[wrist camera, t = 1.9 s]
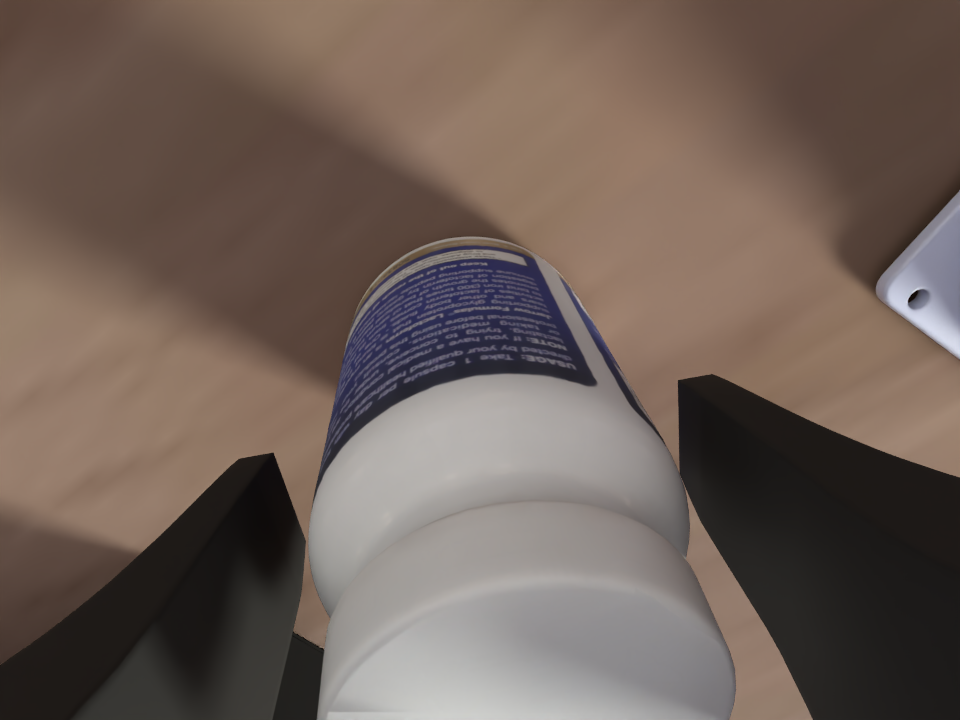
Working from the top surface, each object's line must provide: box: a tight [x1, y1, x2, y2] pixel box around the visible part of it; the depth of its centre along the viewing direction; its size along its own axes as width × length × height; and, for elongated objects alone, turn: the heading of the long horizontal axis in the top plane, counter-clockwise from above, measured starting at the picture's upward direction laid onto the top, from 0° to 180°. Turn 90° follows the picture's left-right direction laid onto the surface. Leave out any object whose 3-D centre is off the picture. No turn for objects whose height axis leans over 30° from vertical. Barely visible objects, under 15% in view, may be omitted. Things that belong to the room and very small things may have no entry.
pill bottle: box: [308, 237, 736, 720], centre depth 12 cm, size 6×6×10 cm
